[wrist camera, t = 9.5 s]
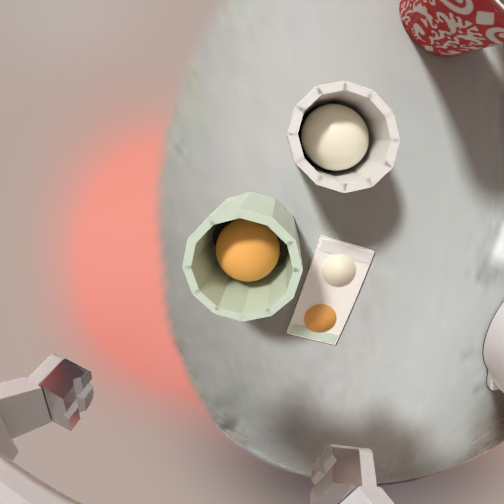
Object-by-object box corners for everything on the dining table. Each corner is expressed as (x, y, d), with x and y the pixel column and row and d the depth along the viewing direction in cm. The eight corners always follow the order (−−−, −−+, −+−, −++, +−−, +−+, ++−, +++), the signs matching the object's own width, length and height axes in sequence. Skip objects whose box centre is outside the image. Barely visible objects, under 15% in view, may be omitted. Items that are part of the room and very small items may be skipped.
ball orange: (288, 220, 27) (286, 237, 22) (272, 274, 29) (267, 300, 24) (230, 204, 27) (216, 218, 22) (217, 258, 29) (203, 281, 24)
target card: (373, 250, 27) (375, 252, 27) (334, 342, 31) (335, 345, 30) (320, 234, 27) (321, 236, 27) (286, 331, 31) (286, 334, 30)
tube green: (308, 207, 27) (316, 229, 20) (282, 290, 29) (281, 331, 23) (217, 183, 27) (196, 196, 20) (199, 267, 29) (176, 302, 23)
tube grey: (379, 112, 23) (409, 104, 17) (358, 189, 26) (380, 205, 19) (300, 86, 23) (304, 68, 17) (278, 165, 26) (276, 173, 19)
